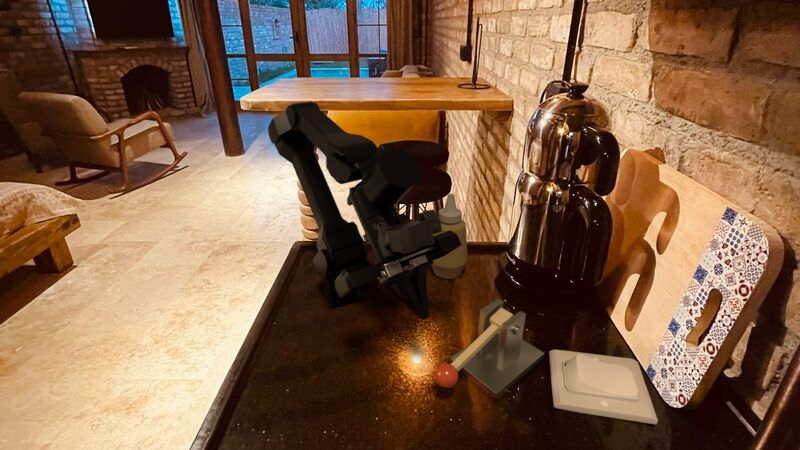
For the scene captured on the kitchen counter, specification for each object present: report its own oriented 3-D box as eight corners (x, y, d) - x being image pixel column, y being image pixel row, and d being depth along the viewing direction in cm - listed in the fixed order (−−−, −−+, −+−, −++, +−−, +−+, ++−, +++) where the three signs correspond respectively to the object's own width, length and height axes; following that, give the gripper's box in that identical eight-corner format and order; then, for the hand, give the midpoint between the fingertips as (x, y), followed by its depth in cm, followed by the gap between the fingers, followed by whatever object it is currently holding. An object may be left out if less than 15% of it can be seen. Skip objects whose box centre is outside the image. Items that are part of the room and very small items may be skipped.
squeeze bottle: (469, 282, 84) (474, 202, 76) (429, 283, 84) (431, 203, 76) (464, 262, 91) (468, 187, 83) (427, 262, 91) (429, 187, 83)
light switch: (550, 336, 64) (641, 346, 61) (548, 356, 66) (636, 367, 63) (555, 390, 55) (663, 406, 52) (553, 412, 57) (656, 428, 53)
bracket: (495, 399, 58) (502, 347, 53) (449, 364, 64) (452, 314, 60) (543, 359, 65) (552, 309, 60) (497, 330, 71) (503, 283, 66)
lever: (448, 397, 55) (445, 383, 53) (431, 383, 57) (428, 369, 55) (516, 328, 61) (516, 314, 59) (499, 317, 63) (498, 303, 62)
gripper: (335, 214, 48) (389, 340, 45) (456, 178, 57) (508, 281, 54) (316, 244, 57) (359, 349, 54) (422, 210, 66) (465, 298, 63)
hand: (425, 318), depth 56 cm, fingers closed
